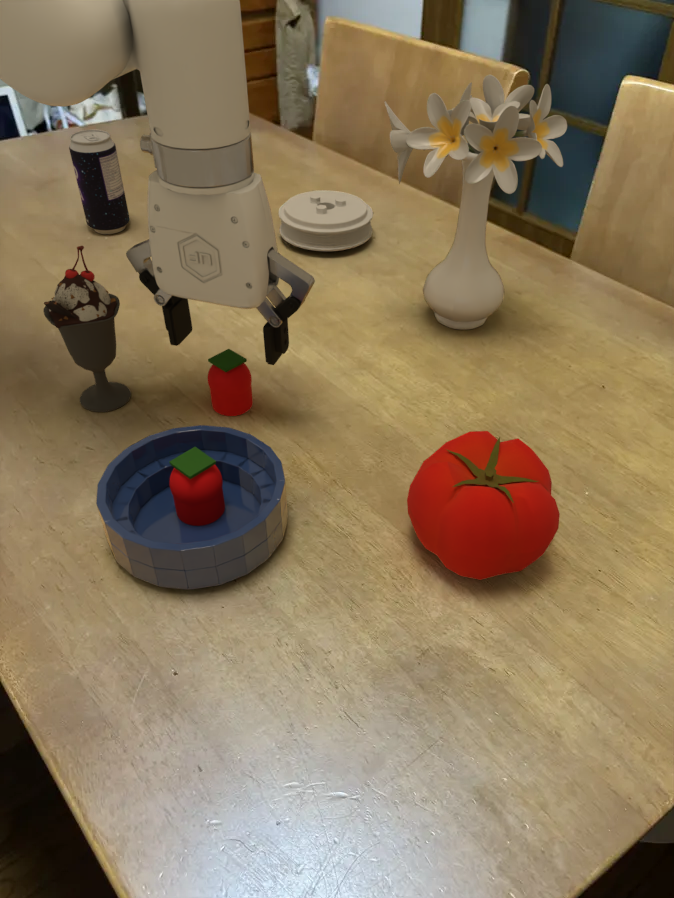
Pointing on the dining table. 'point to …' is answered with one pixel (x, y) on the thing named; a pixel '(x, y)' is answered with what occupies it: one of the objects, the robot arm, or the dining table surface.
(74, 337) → the sundae
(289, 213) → the lid
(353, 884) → the dining table surface
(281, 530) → the bowl
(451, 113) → the flower vase
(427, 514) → the tomato
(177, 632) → the dining table surface
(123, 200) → the beverage can
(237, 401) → the strawberry
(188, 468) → the strawberry
